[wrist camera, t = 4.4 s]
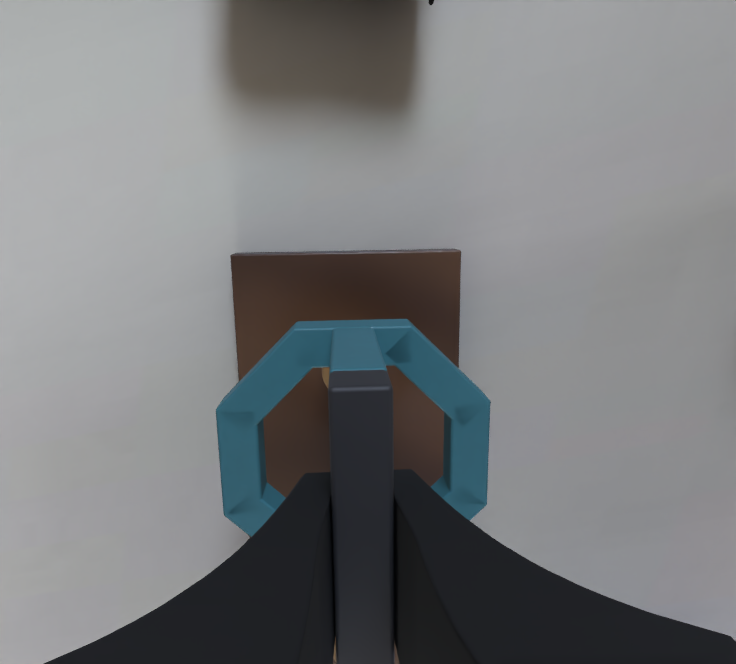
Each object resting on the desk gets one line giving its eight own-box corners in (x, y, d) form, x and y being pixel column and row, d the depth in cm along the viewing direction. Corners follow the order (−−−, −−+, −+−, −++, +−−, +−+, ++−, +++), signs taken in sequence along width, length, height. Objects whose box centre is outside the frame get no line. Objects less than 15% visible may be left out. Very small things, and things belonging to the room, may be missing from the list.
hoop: (475, 550, 15) (555, 742, 9) (235, 561, 15) (172, 766, 9) (483, 316, 14) (581, 380, 8) (218, 322, 13) (130, 393, 8)
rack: (447, 644, 23) (469, 726, 19) (262, 655, 22) (246, 740, 19) (455, 248, 19) (482, 254, 16) (235, 252, 19) (210, 260, 15)
